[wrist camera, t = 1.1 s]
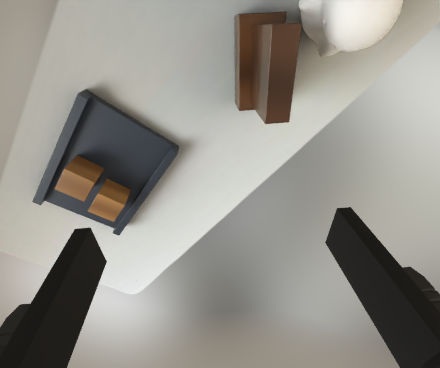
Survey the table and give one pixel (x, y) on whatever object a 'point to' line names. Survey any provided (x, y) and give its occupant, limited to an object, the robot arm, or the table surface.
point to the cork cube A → (79, 178)
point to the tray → (107, 157)
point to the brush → (265, 64)
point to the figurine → (347, 23)
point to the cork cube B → (110, 200)
